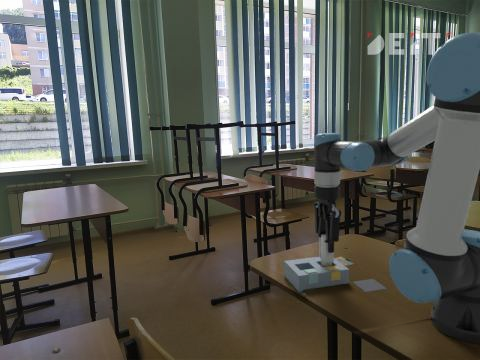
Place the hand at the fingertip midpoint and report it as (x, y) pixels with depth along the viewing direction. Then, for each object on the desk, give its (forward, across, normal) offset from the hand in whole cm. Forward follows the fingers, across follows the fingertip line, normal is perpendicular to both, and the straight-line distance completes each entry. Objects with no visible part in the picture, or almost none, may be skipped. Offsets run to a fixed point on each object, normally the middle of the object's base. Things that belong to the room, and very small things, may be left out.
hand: (326, 259), depth 117 cm
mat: (+6, -9, -9) cm, 14 cm away
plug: (+4, 0, 0) cm, 4 cm away
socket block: (+6, 0, +4) cm, 7 cm away
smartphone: (+7, +10, -6) cm, 13 cm away
